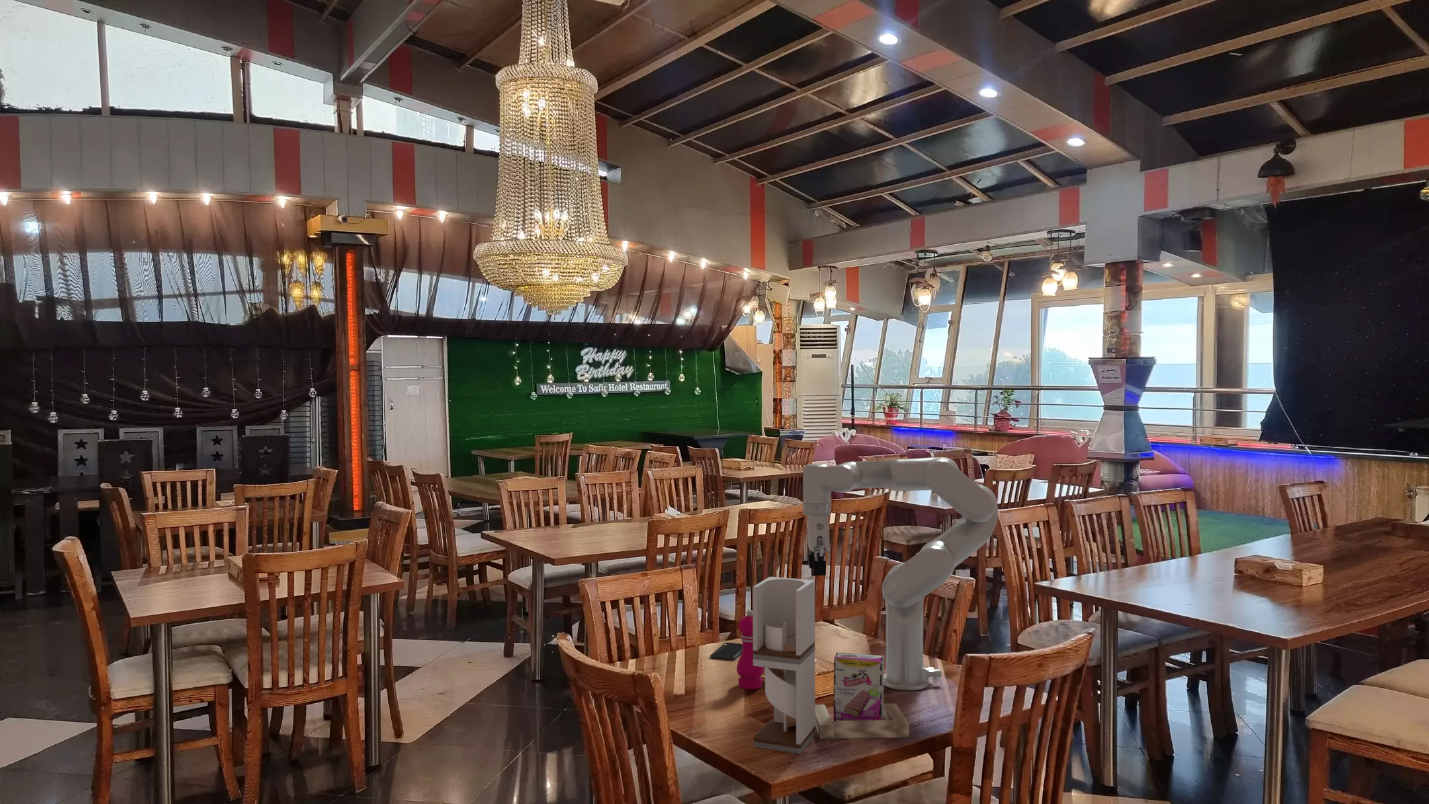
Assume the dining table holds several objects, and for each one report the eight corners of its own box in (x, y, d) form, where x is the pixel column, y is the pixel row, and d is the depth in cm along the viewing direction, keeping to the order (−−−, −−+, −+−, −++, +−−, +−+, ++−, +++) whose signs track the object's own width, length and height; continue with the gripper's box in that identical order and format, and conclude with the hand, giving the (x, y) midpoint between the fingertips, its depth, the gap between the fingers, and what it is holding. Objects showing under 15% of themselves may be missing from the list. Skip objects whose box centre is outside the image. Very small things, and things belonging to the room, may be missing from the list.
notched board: (895, 715, 212) (895, 703, 212) (909, 736, 199) (909, 723, 199) (811, 717, 211) (811, 704, 211) (820, 738, 198) (820, 724, 198)
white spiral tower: (770, 728, 204) (769, 576, 204) (815, 734, 200) (814, 580, 200) (753, 746, 194) (752, 586, 193) (800, 753, 190) (799, 590, 189)
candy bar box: (833, 728, 204) (832, 657, 204) (835, 720, 209) (835, 651, 209) (882, 732, 201) (882, 660, 201) (884, 724, 206) (883, 654, 206)
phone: (749, 644, 270) (734, 658, 256) (749, 648, 270) (734, 662, 256) (725, 641, 272) (708, 655, 258) (725, 645, 272) (708, 659, 258)
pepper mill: (764, 681, 237) (764, 606, 237) (763, 690, 230) (763, 613, 230) (737, 680, 238) (737, 606, 238) (735, 689, 231) (735, 612, 231)
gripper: (836, 513, 234) (836, 578, 234) (825, 505, 251) (826, 565, 251) (807, 513, 233) (807, 578, 234) (799, 505, 251) (799, 565, 251)
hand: (817, 571), depth 242 cm, fingers open, 9 cm apart
